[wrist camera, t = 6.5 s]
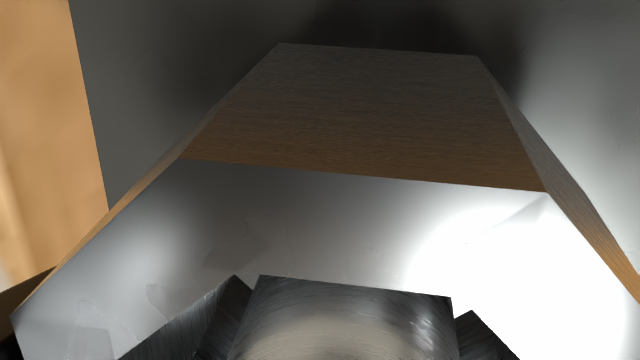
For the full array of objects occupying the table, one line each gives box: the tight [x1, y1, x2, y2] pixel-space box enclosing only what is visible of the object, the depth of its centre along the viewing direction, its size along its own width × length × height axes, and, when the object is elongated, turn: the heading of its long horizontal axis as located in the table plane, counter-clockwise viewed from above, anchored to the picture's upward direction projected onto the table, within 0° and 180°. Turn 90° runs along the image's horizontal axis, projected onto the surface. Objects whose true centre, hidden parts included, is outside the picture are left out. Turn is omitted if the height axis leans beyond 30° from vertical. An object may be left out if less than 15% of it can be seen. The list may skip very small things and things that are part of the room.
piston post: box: [68, 0, 640, 360], centre depth 9 cm, size 12×12×7 cm
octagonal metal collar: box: [9, 43, 640, 360], centre depth 7 cm, size 7×7×4 cm
